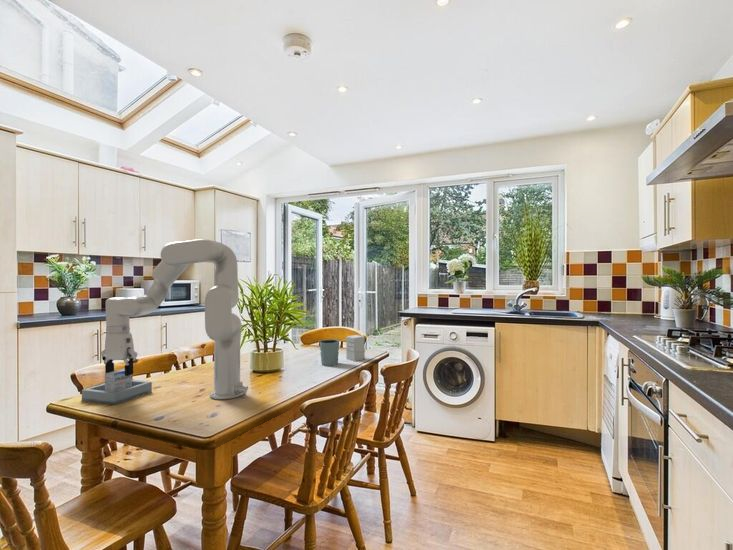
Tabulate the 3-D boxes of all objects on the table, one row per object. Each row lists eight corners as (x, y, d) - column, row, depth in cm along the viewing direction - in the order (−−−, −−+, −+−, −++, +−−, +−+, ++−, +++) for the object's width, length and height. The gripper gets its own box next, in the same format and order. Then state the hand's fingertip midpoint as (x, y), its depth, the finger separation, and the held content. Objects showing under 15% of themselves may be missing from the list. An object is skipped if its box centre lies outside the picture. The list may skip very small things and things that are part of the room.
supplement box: (356, 357, 216) (356, 334, 216) (364, 359, 210) (364, 336, 210) (345, 359, 211) (345, 336, 211) (354, 361, 206) (354, 337, 206)
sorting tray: (151, 391, 153) (151, 381, 153) (114, 405, 138) (114, 393, 138) (121, 388, 158) (121, 378, 158) (81, 400, 143) (81, 389, 143)
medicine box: (113, 397, 144) (113, 373, 144) (104, 396, 145) (104, 373, 145) (132, 391, 151) (131, 368, 151) (123, 390, 152) (122, 368, 152)
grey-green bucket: (343, 363, 201) (343, 340, 201) (331, 367, 192) (331, 343, 192) (327, 361, 206) (327, 338, 206) (315, 365, 198) (315, 341, 198)
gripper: (144, 328, 149) (145, 373, 149) (110, 328, 154) (111, 370, 154) (126, 331, 142) (128, 378, 142) (91, 330, 147) (93, 375, 147)
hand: (119, 374), depth 148 cm, fingers open, 9 cm apart
